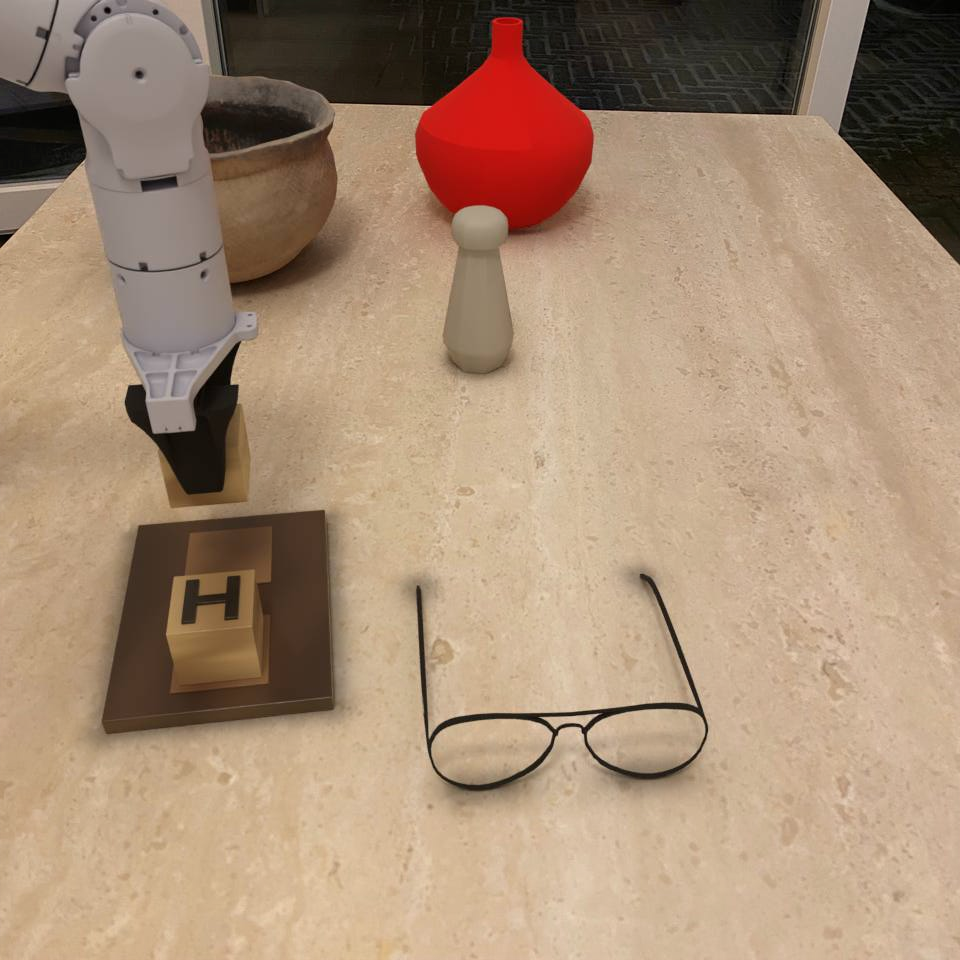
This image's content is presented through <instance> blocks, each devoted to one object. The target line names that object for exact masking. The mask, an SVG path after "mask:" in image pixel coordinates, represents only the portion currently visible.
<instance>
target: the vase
mask: <svg viewBox="0 0 960 960" xmlns="http://www.w3.org/2000/svg"><path fill="white" fill-rule="evenodd" d="M491 23H492V24H491V25H492V26H491V49H490V54H489V55H488V57H487V58H486V59H485V61H484V62H483V64H482V65H481V66H480V67H478V68H477V69H476V70H475V71H474V72H473V73H471V74H470V75H469V76H467V78H465V79H464V80H463V81H462V82H461V83H460V84H458V85H457V86H456V87H455V88H453V89H452V90H451V91H449V92H448V93H447V94H445V95H444V96H442V97H441V98H440V99H439V100H437V101H436V102H434V104H432V105H431V106H430V107H428V108H426V110H424V111H423V112H422V113H421V116H420V118H419V120H418V123H417V126H416V130H415V132H414V142H415V145H414V146H415V156H416V159H417V162H418V165H419V167H420V169H421V170H420V171H421V172H422V174H423V176H424V179H425V181H426V183H427V185H428V188H429V190H430V192H431V193H432V194H433V195H434V196H435V197H436V199H437V200H438V201H439V202H440V203H441V205H442V206H443V207H444V208H445V209H446V210H447V211H448V212H450V213H451V214H452V215H455V214H456V213H457V212H458V211H460V210H461V209H463V208H465V207H470V206H481V205H484V206H490V207H494V208H496V209H499V210H500V211H501V212H502V213H503V214H504V215H505V216H506V217H507V221H508V231H513V230H516V231H517V230H522V229H528V228H531V227H534V226H537V225H540V224H542V223H543V222H545V221H547V220H548V219H550V218H551V217H553V216H554V215H556V214H558V213H559V212H560V211H561V210H562V209H563V208H564V207H565V205H566V204H568V203H569V201H570V200H571V199H572V198H573V197H574V196H575V194H576V193H577V192H578V191H579V189H580V187H581V185H582V183H583V180H584V179H585V177H586V175H587V172H588V171H589V169H590V167H591V164H592V161H593V151H594V142H595V141H594V140H595V133H594V130H593V126H592V122H591V119H590V118H589V117H588V116H587V115H586V113H585V112H584V111H583V110H582V109H580V108H579V107H578V106H576V105H575V104H574V103H573V102H572V101H571V100H569V99H568V98H567V97H566V96H564V95H563V94H562V93H561V92H559V90H557V89H556V87H554V86H553V85H552V84H551V83H549V81H548V80H546V79H545V78H544V77H543V76H542V75H541V74H540V73H538V72H537V71H536V70H535V69H534V68H533V67H532V66H531V64H530V63H529V62H528V60H527V59H526V57H525V56H524V50H523V35H524V21H523V19H521V18H517V17H507V16H506V17H497V18H494V19H492V20H491Z"/></svg>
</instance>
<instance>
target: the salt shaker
mask: <svg viewBox="0 0 960 960" xmlns="http://www.w3.org/2000/svg"><path fill="white" fill-rule="evenodd" d="M453 215H454V214H453ZM450 228H451V230H450V231H451V237H452V240H453V241H454V243H455V244H456V245H457V246H458V250H457V256H456V259H455V260H456V261H455V266H454V271H453V275H452V277H453V278H452V281H451V282H452V283H451V288H450V293H449V298H448V303H447V308H446V315H445V318H444V325H443V331H442V341H443V344H444V346H445V348H446V350H447V352H448V355H449V357H450V358H451V360H452V362H453V363H454V364H455V365H456V366H457V367H458V368H459V369H460V370H462V372H464V373H472V374H473V373H475V374H483V375H484V374H488V373H491V372H492V371H494V370H497V369H499V368H501V367H502V366H503V364H504V363H505V360H506V358H507V356H508V355H509V352H510V350H511V348H512V345H513V342H514V341H513V340H514V337H515V331H514V326H513V320H512V319H513V318H512V315H511V309H510V302H509V297H508V292H507V286H506V281H505V274H504V269H503V263H502V258H501V257H502V256H501V251H500V247H502V246H503V245H505V244H506V242H507V238H508V233H509V230H508V221H507V217H506V216H505V215H504V214H503V213H502V212H501V211H500V210H499V209H496V208H494V207H490V206H484V205H481V206H470V207H465V208H463V209H461V210H460V211H458V212H457V213H456V214H455V215H454V216H453V218H452V221H451V226H450Z"/></svg>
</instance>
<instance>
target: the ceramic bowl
mask: <svg viewBox="0 0 960 960" xmlns="http://www.w3.org/2000/svg"><path fill="white" fill-rule="evenodd" d="M200 114H201V118H202V122H203V139H204V146H205V147H206V149H207V150H208V153H209V155H210V161H211V168H212V174H213V181H214V187H215V193H216V199H217V206H218V212H219V218H220V225H221V231H222V237H223V245H224V251H225V258H226V263H227V270H228V276H229V282H230V284H235V283H241V282H247V281H251V280H256V279H259V278H261V277H265V276H268V275H270V274H272V273H273V272H276V271H278V270H280V269H281V268H283V267H284V266H287V264H288V263H290V262H291V261H292V260H294V259H295V258H296V257H297V256H299V254H300V253H301V252H302V251H303V249H304V248H305V247H306V246H308V244H310V243H311V241H312V240H313V239H314V238H315V237H316V236H317V235H318V234H319V233H320V231H321V230H322V229H323V228H324V226H325V225H326V223H327V222H328V221H327V220H328V218H329V216H330V214H331V212H332V210H333V207H334V204H335V202H336V198H337V192H338V191H337V190H338V178H339V176H338V171H337V167H336V161H335V155H334V152H333V149H332V146H331V143H330V141H329V135H330V133H331V131H332V129H333V127H334V121H335V116H336V112H335V109H334V107H332V105H331V103H330V102H329V101H328V99H326V97H325V95H323V94H321V93H320V92H318V91H316V90H313V89H310V88H306V87H303V86H300V85H298V84H296V83H293V82H292V81H289V80H282V79H273V78H269V77H264V76H261V75H260V76H257V75H256V76H255V75H253V76H251V75H250V76H228V75H219V74H212V73H210V87H209V92H208V96H207V100H206V102H205V105H204V107H203V109H202V111H201V113H200Z"/></svg>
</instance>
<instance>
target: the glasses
mask: <svg viewBox="0 0 960 960" xmlns="http://www.w3.org/2000/svg"><path fill="white" fill-rule="evenodd" d="M639 577H640V578H641V579H642V580H644V581H646V583H648V585H649V586H650V587H649V588H651V590H652V593H653V594H654V597H655V599H656V601H657V604H658V606H659V609H660V612H661V614H662V617H663V619H664V621H665V625H666V627H667V630H668V632H669V635H670V637H671V640H672V643H673V645H674V648H675V651H676V653H677V656H678V659H679V662H680V664H681V667H682V670H683V672H684V674H685V679H686V680H687V683H688V685H689V688H690V690H691V693H692V696H693V698H694V701H695V704H696V705H693V704H690V703H685V702H665V701H664V702H649V703H648V702H647V703H640V704H633V705H626V706H617V707H608V708H598V709H589V710H577V711H562V712H561V711H560V712H558V711H557V712H487V713H486V712H485V713H474V714H466V715H459V716H455V717H450V718H448V719H446V720H444V721H442V722H441V723H439V724H438V725H437V726H436V727H435V728H434V730H433V731H432V732H431V735H429V734H430V733H429V729H430V728H429V710H428V709H429V708H428V687H427V686H428V685H427V671H426V670H427V669H426V650H425V649H426V648H425V634H424V633H425V632H424V616H423V599H422V598H423V597H422V589H421V586H420V584H419V585H418V584H417V585H416V587H415V593H416V594H415V597H416V612H417V613H416V614H417V615H416V617H417V634H418V635H417V636H418V653H419V654H418V655H419V672H420V687H421V689H420V690H421V706H422V707H421V708H422V717H423V723H424V732H425V733H424V734H425V742H426V747H427V753H428V757H429V760H430V763H431V766H432V769H433V770H434V772H435V773H436V774H437V776H439V778H441V780H443V781H445V782H447V783H448V784H449V785H452V786H454V787H457V788H460V789H466V790H469V791H470V790H473V791H482V790H483V791H484V790H491V789H495V788H498V787H501V786H504V785H507V784H510V783H512V782H514V781H516V780H519V779H521V778H523V777H526V776H527V775H529V774H530V773H532V772H533V771H536V769H537V768H538V767H539V766H541V765H542V764H543V763H544V761H545V760H546V759H547V757H548V756H549V754H550V753H551V752H552V750H553V748H554V746H555V741H556V738H557V737H558V736H559V733H560V731H561V730H562V729H566V728H579V729H581V730H580V732H581V734H582V735H583V740H584V741H583V742H584V746H585V748H586V749H587V751H588V752H589V754H590V755H591V756H592V758H593V759H594V760H595V761H597V763H598V764H599V765H601V766H603V767H604V768H606V769H608V770H610V771H612V772H616V773H618V774H621V775H624V776H628V777H631V778H636V779H637V778H638V779H658V778H663V777H666V776H670V775H672V774H675V773H677V772H679V771H681V770H683V769H685V768H686V767H687V766H689V765H690V764H692V762H693V761H695V760H696V759H697V758H698V756H699V754H700V753H701V752H702V749H703V747H704V745H705V743H706V742H707V739H708V735H709V724H708V721H707V717H706V714H705V712H704V709H703V705H702V702H701V699H700V697H699V694H698V691H697V688H696V684H695V682H694V679H693V676H692V674H691V671H690V667H689V665H688V663H687V659H686V657H685V654H684V652H683V648H682V647H681V644H680V641H679V638H678V636H677V633H676V630H675V628H674V625H673V622H672V619H671V618H670V615H669V612H668V610H667V608H666V605H665V602H664V600H663V598H662V594H661V592H660V591H659V588H658V586H657V584H656V582H655V581H654V579H653V578H652V577H651V576H649V575H647V574H645V573H640V574H639ZM651 710H680V711H688V712H692V713H695V714H697V715H698V716H699V717H700V718H701V719H702V722H703V724H704V736H703V739H702V741H701V743H700V746H699V747H698V749H697V750H696V752H695V753H694V754H693V755H692V756H691V757H690V758H688V759H687V760H686V761H684V762H683V763H681V764H679V765H677V766H675V767H673V768H670V769H667V770H663V771H657V772H648V773H647V772H638V771H631V770H628V769H624V768H621V767H618V766H615V765H613V764H611V763H609V762H607V761H606V760H604V759H603V758H601V757H600V756H599V755H598V754H597V753H596V752H595V751H594V750H593V748H592V747H591V745H590V743H589V742H588V741H589V740H588V732H589V731H590V730H591V729H592V728H593V727H594V726H595V725H596V724H597V723H599V722H601V721H603V720H605V719H607V718H608V719H609V718H610V717H613V716H616V715H621V714H625V713H632V712H640V711H651ZM589 715H590V716H591V715H596V716H594V717H592V719H590V720H589V722H587V724H586V725H585V726H584V725H583V724H581V723H577V722H568V723H567V722H566V723H564V724H560V725H558V726H557V727H556V728H555V727H554V726H553V725H552V724H551V723H550V722H549V721H548V720H546V719H544V718H564V717H567V718H568V717H580V716H589ZM491 720H519V721H520V720H521V721H530V722H533V723H537V724H540V725H542V726H544V727H546V728H547V729H548V730H549V732H551V734H552V735H551V739H550V743H549V744H548V746H547V747H546V749H545V750H544V751H543V753H542V754H541V755H540V756H539V757H537V759H536V760H535V761H534V762H532V763H531V764H530V765H528V766H527V767H526V768H524V769H522V770H520V771H519V772H516V773H514V774H513V775H510V776H508V777H506V778H503V779H500V780H497V781H492V782H490V783H482V784H468V783H463V782H458V781H456V780H452V779H450V778H448V777H446V775H443V774H442V773H441V772H440V771H439V770H438V768H437V767H436V765H435V762H434V759H433V754H432V746H433V742H434V740H435V738H436V737H437V736H438V735H439V734H440V733H441V732H442V731H443V730H445V729H447V728H449V727H452V726H456V725H460V724H464V723H472V722H478V721H491Z"/></svg>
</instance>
